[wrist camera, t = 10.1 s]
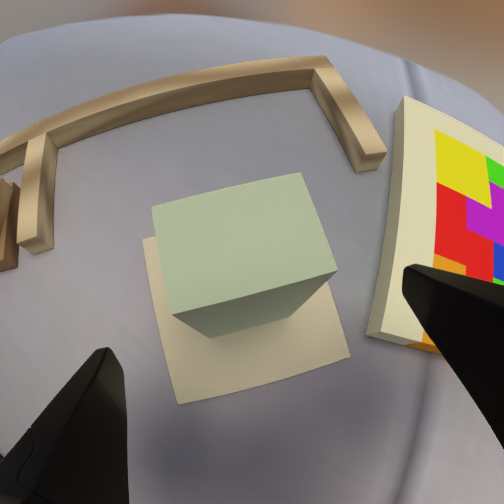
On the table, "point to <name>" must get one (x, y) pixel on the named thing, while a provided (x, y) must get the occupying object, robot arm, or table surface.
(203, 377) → the mat
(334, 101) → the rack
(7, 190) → the offcut oak
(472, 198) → the puzzle game
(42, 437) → the robot arm
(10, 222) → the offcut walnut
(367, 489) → the table surface
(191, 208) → the tall green pillar
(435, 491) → the table surface
